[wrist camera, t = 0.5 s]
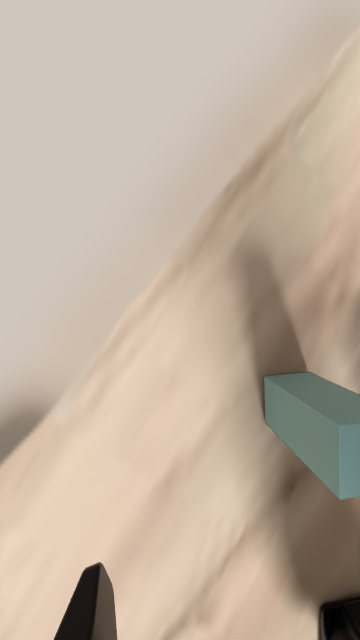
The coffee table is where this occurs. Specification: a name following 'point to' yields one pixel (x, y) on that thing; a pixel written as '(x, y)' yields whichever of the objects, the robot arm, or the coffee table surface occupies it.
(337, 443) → the teal block
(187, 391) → the coffee table surface
